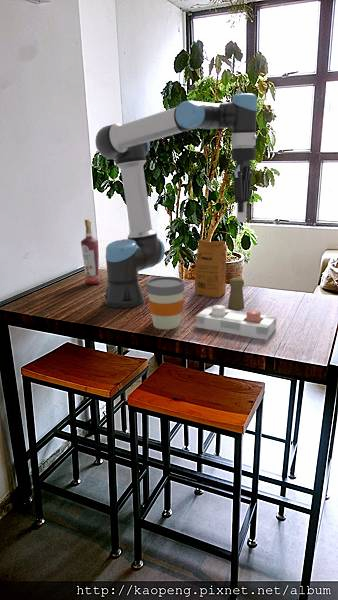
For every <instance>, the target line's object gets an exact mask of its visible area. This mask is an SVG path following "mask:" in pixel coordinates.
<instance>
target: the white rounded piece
mask: <svg viewBox="0 0 338 600" xmlns="http://www.w3.org/2000/svg"><path fill="white" fill-rule="evenodd" d="M211 307H212V316H216V317H222V318H223V317H224V316H225V309H226V306H225V305H222V304H214V305H212V306H211Z"/></svg>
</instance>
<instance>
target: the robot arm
mask: <svg viewBox="0 0 338 600" xmlns="http://www.w3.org/2000/svg"><path fill="white" fill-rule="evenodd" d="M257 98H258V97H257V95H256V94H254V93H240V94H239V93H238V94H234V95H233V96H232V100H231V101H229V102H218V103H215V102H205V101H196V100H193V99H192V100H185V101H182V102H181V103H180V104H179V105H178V106H176V107H172V108H169V109H167V110H163V111H160V112H156V113H154V114H152V115H147V116H144V117H142V118H141V117H140V118H138V119H135V120H132V121H129V122H125V123H123V124H121V123H118V122H116V123H112V124H109V125H105V126H103V127H102V128H100V129H99V131H97V133H96V136H95V148H96V149H97V150H96V151H98V152H99V154H100V155H101V156H102V157H104V158H106V159H108V160H114V161H115V165H116V167H118V168H119V170H120V173H121V179H122V185H123V192H124V198H125V204H126V210H127V216H128V217H127V218H128V223H129V230H130V232H129V234H128V235H127V238H126V239H123V238H122V239H118V240H113V241H112V242H110V243H108V244H107V245H106V248H105V261H106V272H107V273H106V274H107V275H106V276H107V286H106V290H105V295H104V304H105V306H107V307H110V308H115V309H129V308H134V307H137V306H140V305H142V304H143V303H144V302H145V297H144V296H145V294H144V293H143V291H142V288H141V285H140V282H139V272H140V271H143V270H146V269H148V268H153V267H155V266H156V265H158V264H160V263H161V262H162V260H163V259H164V257H165V251H166V249H165V245H164V242H163V241H162V240H161V238H159V237H158V233H157V232H156V230H154V229H153V227H152V226H153V225H152V219H151V212H150V205H149V204H150V203H149V198H148V197H149V196H148V191H147V185H146V178H145V172H144V171H145V170H144V165H145V164H146V162H147V157H146V156H147V155H148V154H149V151H150V148H151V144H150V143H151V142H152V141H156V140H159V139H160V140H161V139H163V138H166V137H170V136H172V135H177V134H180V133H183V132H189V131H192V130H195V129H196V130H197V129H203V130H213V129H231V147H233V148H231V161H235V162H236V163H235V168H234V170H233V171H232V172H231V173H232V178H233V179H232V180H233V193H234V194H233V195H234V203H237V204H236V207H237V209H236V222H237V223H246V222H247V209H248V207H247V204H248V203H249V202H250V201H251V200H250V194H251V193H250V192H251V186H252V177H253V171H254V170H253V168H251V161H255V160H256V148H255V146H256V145H257V144H256V142H257V141H256V140H257V139H258V135H257V116H258V115H257V114H258V99H257Z"/></svg>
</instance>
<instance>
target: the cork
mask: <svg viewBox="0 0 338 600" xmlns="http://www.w3.org/2000/svg"><path fill="white" fill-rule="evenodd" d="M244 285H245V281H244V279H243V278H242V277H232V278H230V280H229V286H230V291H229V298H228V303H227V308H228V309H229V310H234V311H239V310H243V309H244V308H245V301H244V291H243V290H244V289H243V287H244Z"/></svg>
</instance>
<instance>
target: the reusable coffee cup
mask: <svg viewBox="0 0 338 600" xmlns="http://www.w3.org/2000/svg"><path fill="white" fill-rule="evenodd" d="M185 288H186V287H185V282H184V280H183V278H179V277H176V276H158V277H157V276H156V277H153V278H151V279H148V280H147V282H146V292H147V295H148V296H147V302H148V303H147V305H148V310H149V313H150V315H151V319H152V323H153V327H154V328H156V329H158V330H172V329H176V328H178V327H179V326H180V324H181V315H182V312H183V309H184V308H183V307H184V301H185V300H184V299H185V297H184V292H185V290H186V289H185Z"/></svg>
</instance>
